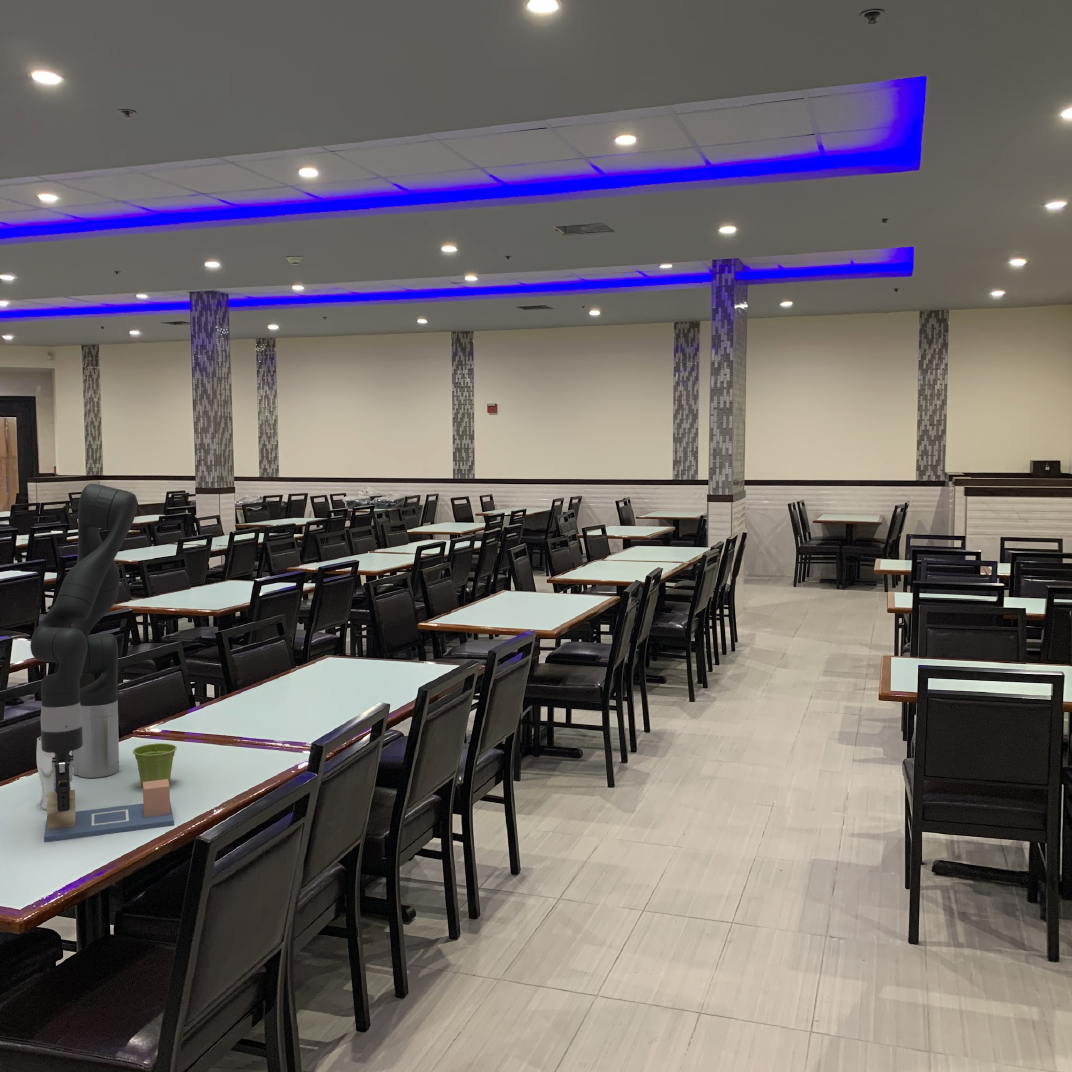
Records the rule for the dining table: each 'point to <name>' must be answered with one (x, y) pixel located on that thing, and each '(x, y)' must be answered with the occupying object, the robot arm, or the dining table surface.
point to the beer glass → (45, 772)
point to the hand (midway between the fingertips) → (64, 804)
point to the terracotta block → (156, 798)
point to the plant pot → (154, 761)
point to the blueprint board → (108, 822)
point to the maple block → (60, 818)
